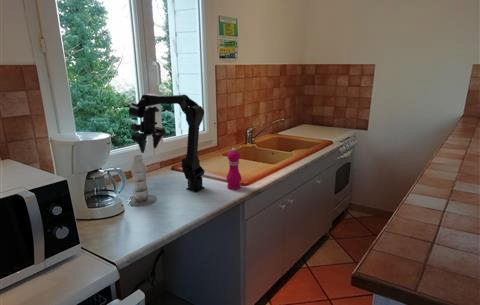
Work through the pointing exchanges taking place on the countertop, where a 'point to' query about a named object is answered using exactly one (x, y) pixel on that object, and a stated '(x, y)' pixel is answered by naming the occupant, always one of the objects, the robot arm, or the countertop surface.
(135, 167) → the silver bottle
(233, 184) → the pepper mill
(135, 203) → the round gray disc
